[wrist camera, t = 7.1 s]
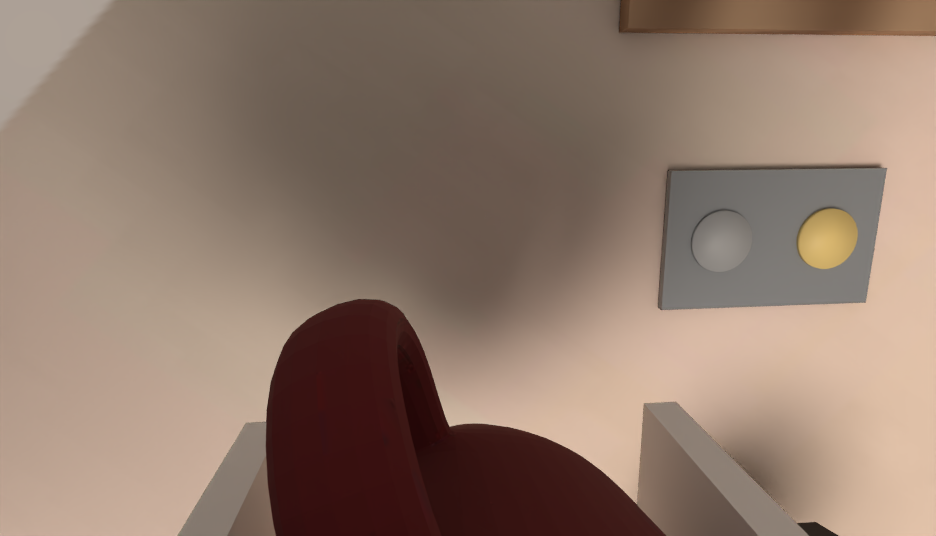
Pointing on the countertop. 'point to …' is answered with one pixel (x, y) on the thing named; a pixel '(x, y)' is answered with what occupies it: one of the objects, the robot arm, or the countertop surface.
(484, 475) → the mug
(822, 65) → the countertop surface
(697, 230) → the key tile
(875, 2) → the board
